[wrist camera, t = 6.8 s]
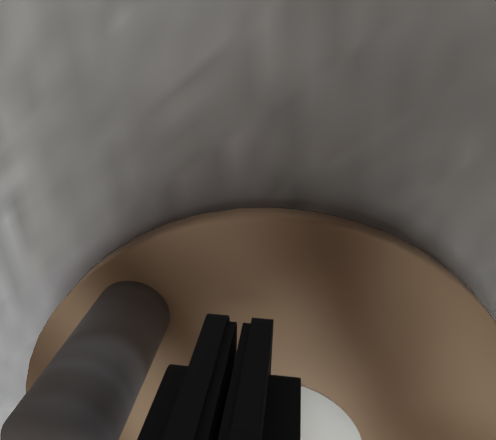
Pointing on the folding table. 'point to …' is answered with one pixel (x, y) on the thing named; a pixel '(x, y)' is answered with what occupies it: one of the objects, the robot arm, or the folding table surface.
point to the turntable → (284, 330)
